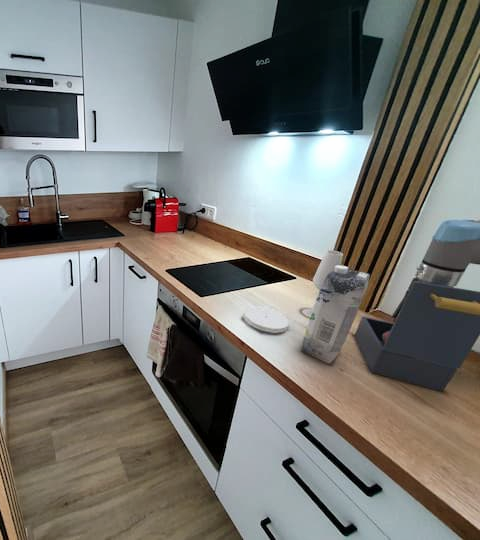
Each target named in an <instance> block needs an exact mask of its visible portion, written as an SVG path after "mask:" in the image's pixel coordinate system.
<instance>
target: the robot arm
mask: <svg viewBox="0 0 480 540" xmlns="http://www.w3.org/2000/svg"><path fill="white" fill-rule="evenodd" d="M470 264H472V265H480V219H479V220H473V219H448V220H444V221H443V222H441V223H440V225H439V226H438V227H437V230H436V231H435V232H434V235H432V238H431V242H430V244H429V246H428V248H427V250H426V252H425V254H424V256H423V258H422V260H421V262H420V264H419V266H416V272H415V274H414V276H415V277H413V278H412V280H411V281H410V284H409V286H408V288H407V289H408V290H406V291H405V293H404V296H403V298H402V299H401V301H400V303H399V304H398V305H397V308H396V309H395V310H394V312H393V313H392V315H391V318H392V319H393V322H392V323H394V322H395V320H396V318H397V316H398V314H399V311H400V309H401V307H402V305H403V303H404V301H405V299H406V296H407V294H408V292H409V290H410V288H411V286H412V284H413V281H417V282H423V283H430V284H436V285H442V286H448V287H454V288H455V287H457V286H458V284H459V283H460V280H461V279H462V278H463V276H464V274H465V272H466V270H467V269H468V266H469V265H470ZM391 329H392V328H391ZM390 331H391V330H390Z"/></svg>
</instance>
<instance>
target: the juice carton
mask: <svg viewBox="0 0 480 540" xmlns="http://www.w3.org/2000/svg"><path fill="white" fill-rule="evenodd" d="M370 276H371V274H370V273H367V272H364V271H360V270H356V269H352V268H349V267H348V266H346V265H342V264H341V265H340V266H339V265H337V266H335V268H334V269H333V271H332V272H330V273H329V274H328V275H327V277H326V278H325V280H324V282H323V284H322V287H321V289H320V292H319V291H318V292H319V295H318V294H317V295H318V298H317V300H316V299H315V300H316V303H315V302H314V303H315V306H314V305H313V306H314V309H313V308H312V309H313V312H312V315H311V318H310V317H309V321H308V323H307V326H306V328H305V332H304V335H303V339H302V345H301V351H302V353H304V354H306V355H308V356H310V357H313V358H316V359H317V360H319V361H322V362H324V363H326V364H332V362H333V361H334V360H335V359H336V357H338V355H339V353H340V352H341V350H342V348H343V346H344V345H345V342H346V341H347V337H348V335H349V333H350V331H351V328H352V326H353V324H354V321H355V319H356V316H357V314H358V311H359V309H360V307H361V304H362V302H363V300H364V298H365V295H366V293H367V289H368V286H369V282H370Z"/></svg>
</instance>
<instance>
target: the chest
mask: <svg viewBox="0 0 480 540" xmlns="http://www.w3.org/2000/svg"><path fill="white" fill-rule="evenodd" d="M393 324H394V322H391V321H386V320H381V319H377V318H372V317H367V316H362V317H361V319H360V321H359V323H358V325H357V328H356V330H355V333H354V338H355V340H356V343H357V344H358V347H359V349H360V351H361V354H362V356H363V357H364V360H365V362H366V364H367V366H368V368H369V371H370V373H373V374H377V375H381V376H384V377H387V378H388V377H389V378H391V379H395V380H399V381H401V382H402V381H403V382H406V383H408V384H409V383H410V384H413V385H417V386H421V387H424V388H428V389H432V390H436V391H439V392H444V391H445V389H446V387H447V386H448V385H449V383H450V382H451V380H452V379H453V377H454V375H455V374H456V372H457V371H458V368H454V367H450V366H446V365H442V364H438V363H434V362H429V361H425V360H421V359H417V358H413V357H409V356H405V355H401V354H397V353H393V352H388V351H384V350H383V349H382V348H383V346H384V344H385V343H384V341H383V339H382V335H383V334H384V333H385V332H388V331H390V330H391V328H392V326H393Z"/></svg>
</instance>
